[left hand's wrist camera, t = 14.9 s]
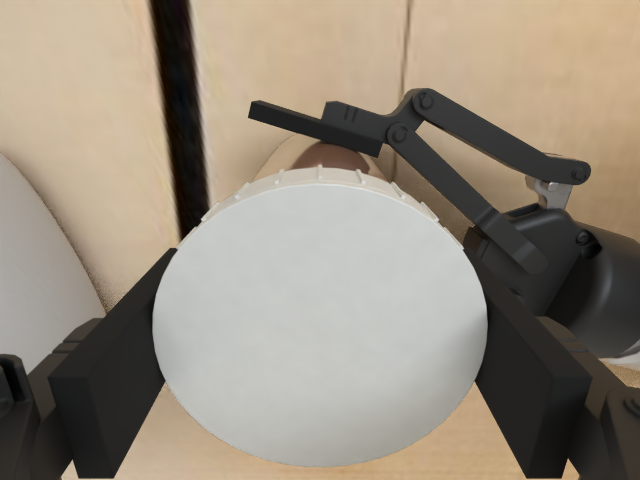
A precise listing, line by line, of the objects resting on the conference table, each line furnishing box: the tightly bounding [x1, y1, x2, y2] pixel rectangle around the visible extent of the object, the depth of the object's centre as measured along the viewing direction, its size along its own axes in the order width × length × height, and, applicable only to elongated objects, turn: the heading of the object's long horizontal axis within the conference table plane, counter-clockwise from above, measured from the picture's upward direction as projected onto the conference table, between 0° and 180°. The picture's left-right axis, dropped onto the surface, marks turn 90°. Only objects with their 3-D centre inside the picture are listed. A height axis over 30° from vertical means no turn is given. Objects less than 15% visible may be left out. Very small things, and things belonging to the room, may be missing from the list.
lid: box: [152, 165, 488, 467], centre depth 11 cm, size 9×9×2 cm
